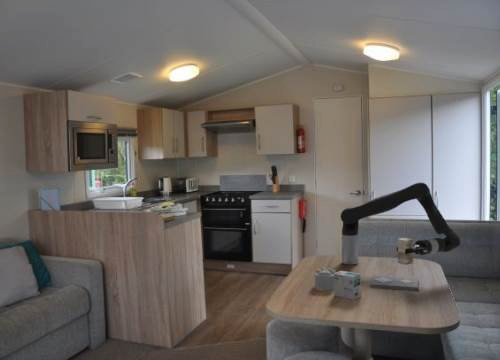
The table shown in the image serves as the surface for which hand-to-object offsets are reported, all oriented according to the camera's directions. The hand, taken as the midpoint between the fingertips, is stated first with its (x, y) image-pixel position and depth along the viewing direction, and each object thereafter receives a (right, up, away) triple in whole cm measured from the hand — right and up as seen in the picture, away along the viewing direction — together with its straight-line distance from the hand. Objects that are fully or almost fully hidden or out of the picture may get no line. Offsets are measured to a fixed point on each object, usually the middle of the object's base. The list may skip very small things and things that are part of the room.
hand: (401, 250), depth 210 cm
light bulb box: (-29, -19, -12) cm, 37 cm away
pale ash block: (+2, -6, +2) cm, 7 cm away
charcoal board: (-2, -17, +4) cm, 18 cm away
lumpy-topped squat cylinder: (-36, -19, +4) cm, 41 cm away
